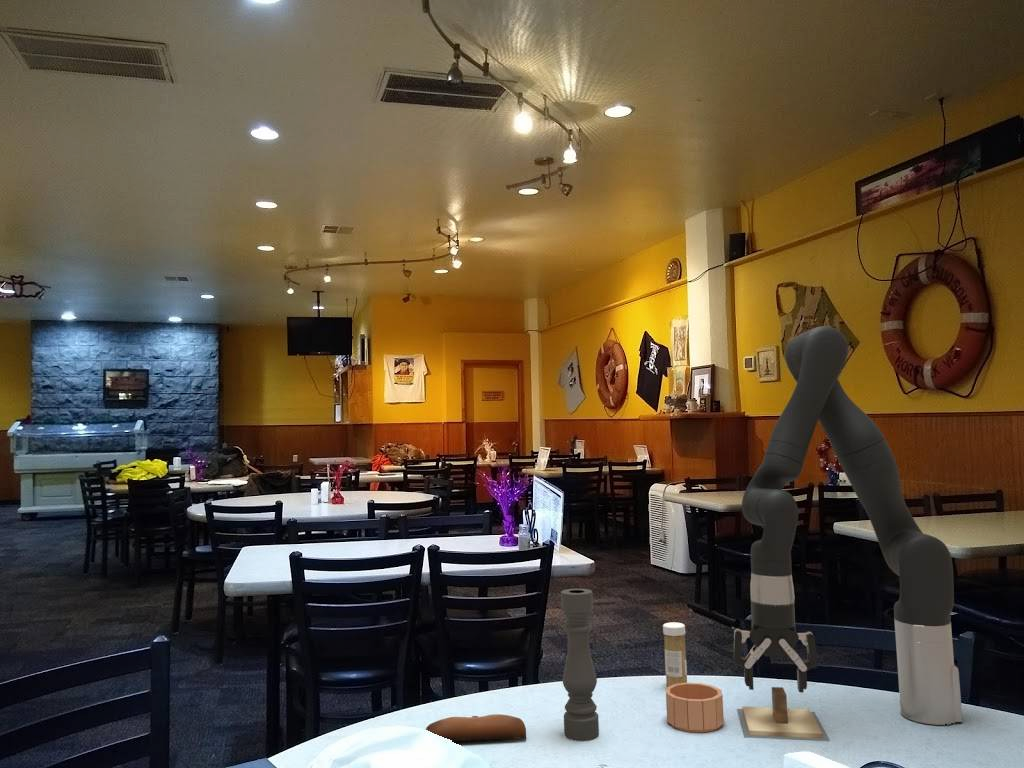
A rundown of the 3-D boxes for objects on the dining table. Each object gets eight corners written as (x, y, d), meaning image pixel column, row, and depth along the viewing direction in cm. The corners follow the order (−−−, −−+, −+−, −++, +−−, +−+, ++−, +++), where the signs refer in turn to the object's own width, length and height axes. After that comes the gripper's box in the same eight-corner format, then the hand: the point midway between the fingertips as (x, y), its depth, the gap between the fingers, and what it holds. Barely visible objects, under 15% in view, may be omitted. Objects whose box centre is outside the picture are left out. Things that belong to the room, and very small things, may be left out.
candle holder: (603, 730, 136) (598, 589, 138) (592, 743, 131) (587, 595, 133) (571, 725, 139) (566, 587, 141) (559, 738, 133) (554, 593, 135)
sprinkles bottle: (692, 689, 157) (689, 623, 158) (680, 695, 154) (676, 627, 155) (673, 685, 160) (670, 620, 161) (661, 690, 157) (658, 624, 158)
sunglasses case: (522, 723, 141) (523, 697, 138) (526, 756, 134) (527, 730, 131) (425, 729, 139) (424, 703, 136) (424, 763, 133) (423, 737, 130)
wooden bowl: (721, 716, 142) (720, 683, 142) (725, 737, 132) (724, 701, 132) (667, 714, 144) (665, 681, 144) (667, 734, 134) (665, 699, 134)
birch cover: (809, 713, 140) (807, 681, 141) (822, 738, 129) (820, 703, 129) (742, 710, 143) (740, 679, 143) (749, 735, 131) (747, 700, 132)
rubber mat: (814, 714, 141) (814, 711, 141) (830, 743, 127) (830, 741, 128) (736, 711, 144) (736, 708, 144) (744, 739, 130) (744, 737, 130)
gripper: (810, 595, 140) (813, 685, 139) (730, 593, 143) (733, 681, 142) (817, 604, 133) (821, 699, 131) (733, 601, 136) (736, 694, 134)
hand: (775, 689), depth 137 cm, fingers open, 8 cm apart
